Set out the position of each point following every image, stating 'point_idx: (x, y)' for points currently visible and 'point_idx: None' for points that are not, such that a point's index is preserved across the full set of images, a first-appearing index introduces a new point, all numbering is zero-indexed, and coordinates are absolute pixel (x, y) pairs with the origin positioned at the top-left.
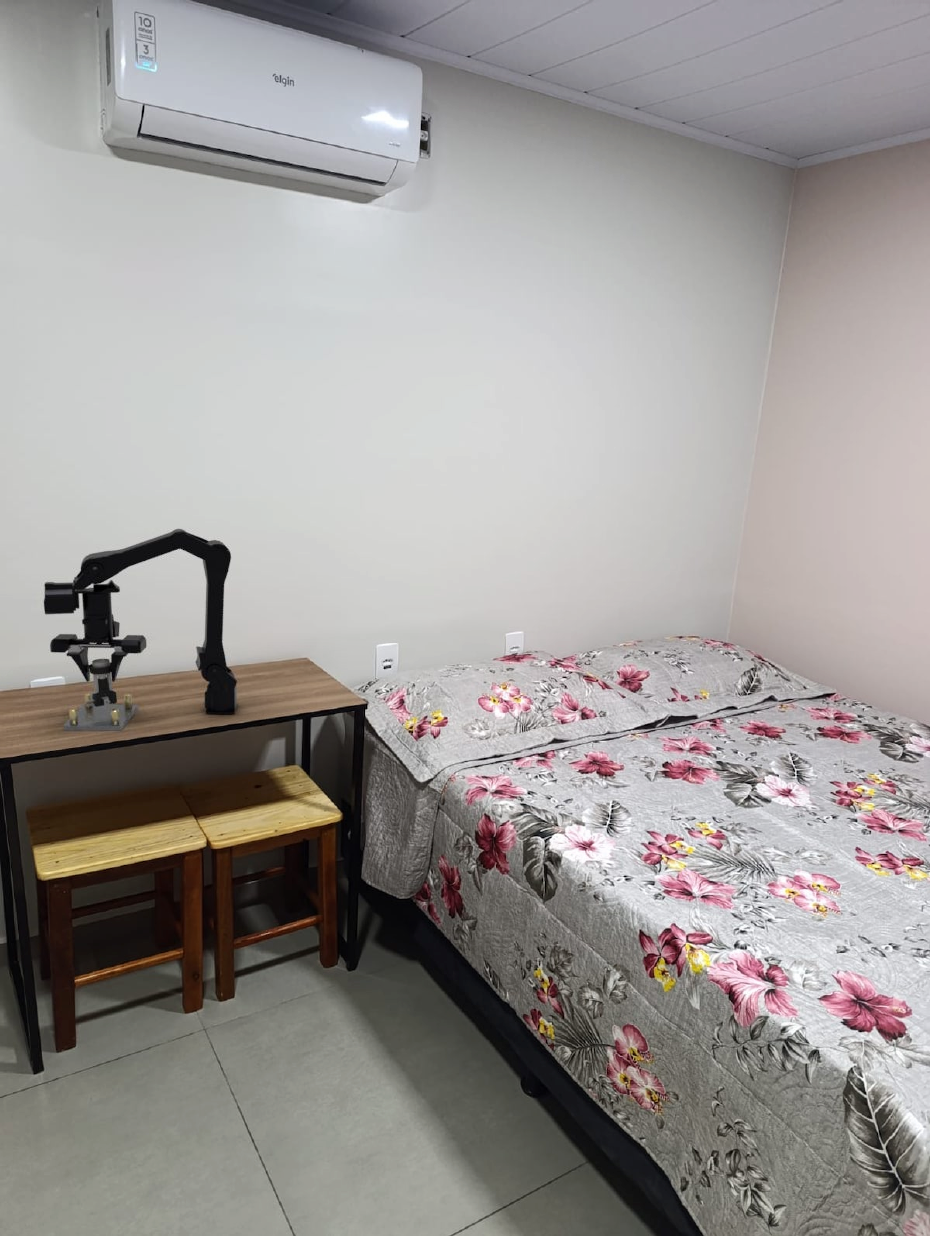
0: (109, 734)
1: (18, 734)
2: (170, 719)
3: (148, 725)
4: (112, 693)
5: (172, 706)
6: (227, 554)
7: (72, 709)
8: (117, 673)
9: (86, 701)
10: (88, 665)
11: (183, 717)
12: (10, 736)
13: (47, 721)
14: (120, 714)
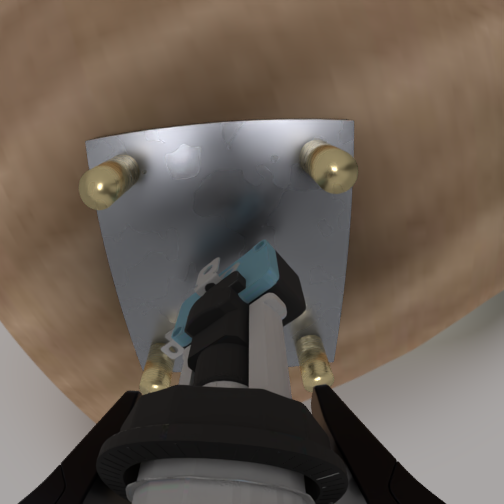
0: (299, 377)
1: (62, 379)
2: (466, 240)
3: (406, 301)
4: (287, 320)
5: (465, 92)
6: None
7: (148, 387)
8: (357, 419)
9: (170, 356)
10: (101, 479)
11: (496, 218)
12: (57, 387)
13: (55, 294)
14: (306, 259)
